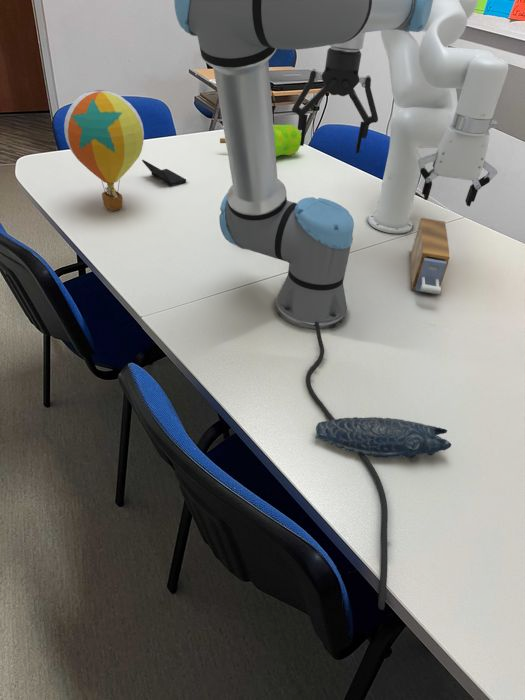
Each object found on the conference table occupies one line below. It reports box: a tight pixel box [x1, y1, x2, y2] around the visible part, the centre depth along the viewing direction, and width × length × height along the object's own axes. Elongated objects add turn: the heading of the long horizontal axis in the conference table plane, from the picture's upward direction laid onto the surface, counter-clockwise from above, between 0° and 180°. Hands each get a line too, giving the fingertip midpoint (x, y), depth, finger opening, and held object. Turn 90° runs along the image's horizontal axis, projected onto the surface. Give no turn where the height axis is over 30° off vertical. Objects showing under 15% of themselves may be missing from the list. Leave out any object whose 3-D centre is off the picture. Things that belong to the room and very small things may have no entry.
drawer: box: [414, 256, 446, 295], centre depth 123 cm, size 24×5×8 cm, turn 168°
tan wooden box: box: [410, 217, 451, 291], centre depth 127 cm, size 20×6×10 cm, turn 168°
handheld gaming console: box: [141, 159, 187, 187], centre depth 162 cm, size 12×7×10 cm
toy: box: [63, 89, 145, 212], centre depth 136 cm, size 20×20×30 cm
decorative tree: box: [219, 123, 302, 158], centre depth 186 cm, size 18×10×30 cm
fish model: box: [315, 416, 452, 459], centre depth 82 cm, size 7×21×5 cm, turn 84°
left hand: (329, 147), depth 127 cm, fingers open, 13 cm apart
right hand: (446, 200), depth 121 cm, fingers open, 9 cm apart
